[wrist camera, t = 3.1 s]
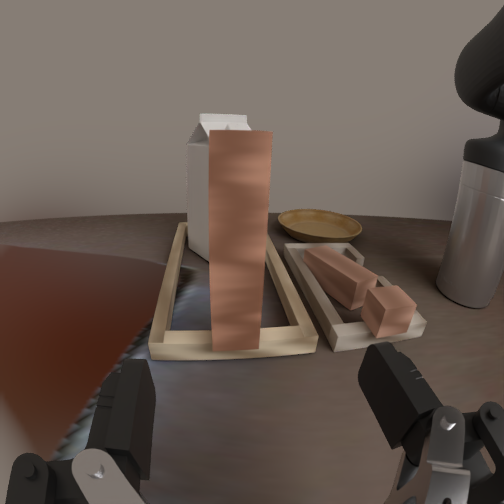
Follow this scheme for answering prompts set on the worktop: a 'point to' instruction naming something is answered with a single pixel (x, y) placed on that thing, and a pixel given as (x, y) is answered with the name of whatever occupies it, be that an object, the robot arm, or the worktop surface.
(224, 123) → the milk carton
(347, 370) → the worktop surface
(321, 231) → the plant saucer
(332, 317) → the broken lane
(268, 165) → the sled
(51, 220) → the worktop surface
